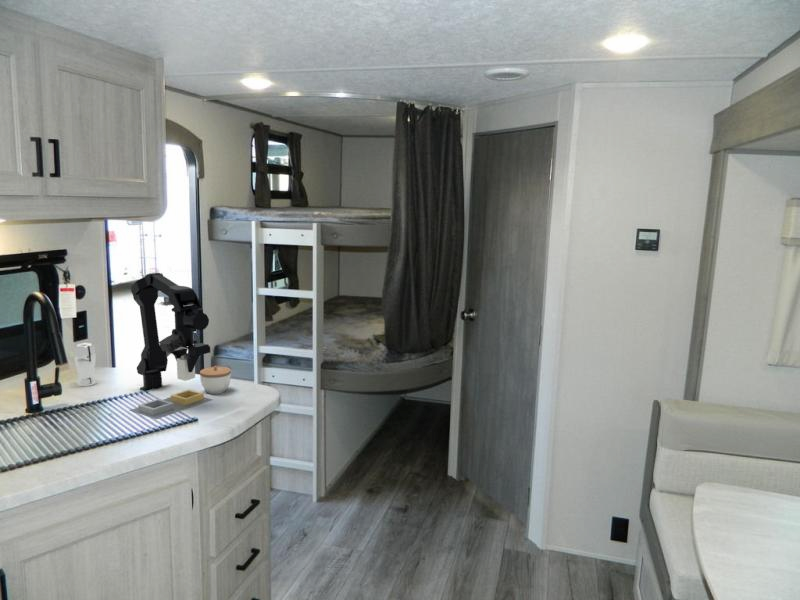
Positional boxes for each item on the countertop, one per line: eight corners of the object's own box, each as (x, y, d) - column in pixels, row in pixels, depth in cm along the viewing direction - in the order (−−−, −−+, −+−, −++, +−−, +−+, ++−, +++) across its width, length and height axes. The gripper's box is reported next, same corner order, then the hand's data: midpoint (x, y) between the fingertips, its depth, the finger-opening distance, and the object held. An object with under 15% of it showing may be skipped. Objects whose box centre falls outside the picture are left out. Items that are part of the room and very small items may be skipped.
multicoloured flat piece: (129, 413, 182) (128, 404, 182) (186, 395, 201) (186, 386, 201) (156, 422, 175) (156, 412, 175) (213, 402, 194) (213, 394, 193)
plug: (177, 378, 191) (176, 355, 190) (187, 375, 195) (186, 353, 193) (185, 380, 189) (184, 357, 188) (195, 377, 193) (194, 354, 191)
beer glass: (81, 381, 215) (78, 342, 213) (100, 380, 216) (98, 342, 213) (72, 386, 208) (69, 347, 206) (92, 386, 209) (90, 346, 206)
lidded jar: (212, 397, 199) (211, 372, 197) (194, 391, 205) (193, 366, 204) (237, 390, 207) (236, 365, 206) (219, 384, 213) (219, 360, 212)
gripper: (145, 326, 187) (147, 372, 189) (182, 333, 177) (184, 381, 180) (174, 321, 196) (175, 364, 199) (210, 327, 187) (212, 373, 189)
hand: (186, 371), depth 192 cm, fingers closed on plug, 4 cm apart
